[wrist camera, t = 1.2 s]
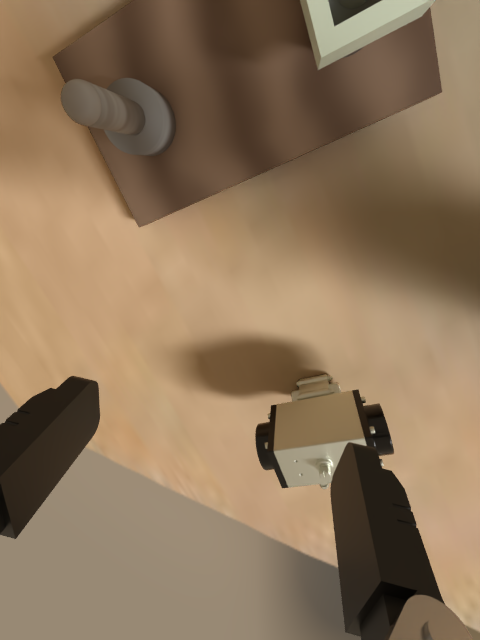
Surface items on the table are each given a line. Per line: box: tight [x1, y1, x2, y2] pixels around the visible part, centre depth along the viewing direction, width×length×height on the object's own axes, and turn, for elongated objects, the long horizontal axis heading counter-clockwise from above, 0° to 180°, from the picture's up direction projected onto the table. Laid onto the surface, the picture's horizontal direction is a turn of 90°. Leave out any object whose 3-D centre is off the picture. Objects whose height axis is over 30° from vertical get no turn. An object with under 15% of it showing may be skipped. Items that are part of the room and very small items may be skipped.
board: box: [53, 0, 442, 227], centre depth 20 cm, size 26×14×12 cm, turn 113°
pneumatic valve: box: [255, 374, 394, 489], centre depth 32 cm, size 6×12×12 cm, turn 110°
